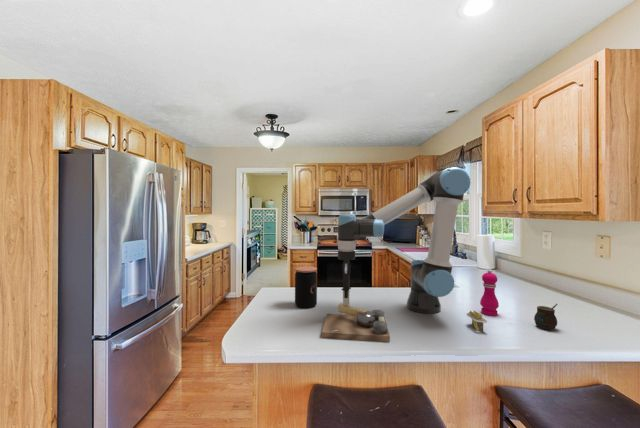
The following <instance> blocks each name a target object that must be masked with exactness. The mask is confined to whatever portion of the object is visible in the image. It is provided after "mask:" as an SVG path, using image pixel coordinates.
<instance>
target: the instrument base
mask: <svg viewBox="0 0 640 428" xmlns="http://www.w3.org/2000/svg"><path fill="white" fill-rule="evenodd" d="M371 312H373V313H375V322H374V323H373V327H361V326H359V325H357V317H353V316H350V315H347V314H344V313H342V314H339V313H338V314H337V313H327V314H326V318H325V320H324V323H323V327H322V331H321V339H322V338H323V339H334V340H335V339H338V340H350V341H352V340H353V341H369V342H384V343H385V342H386V343H390V342H391V336H390V332H389V328H388V322H386V318H385V311H383V310H381V309H380V310H379V309H374V310H371Z"/></svg>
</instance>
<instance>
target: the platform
mask: <svg viewBox="0 0 640 428" xmlns="http://www.w3.org/2000/svg"><path fill="white" fill-rule="evenodd" d="M466 316H467V317H469V318H470V319H471V325H472V326H473V327H474V329H475V331H481V332H482V333H484V323H488V320H486V319H485V318H483V315H482V314H481V313H479V312H478V311H476V310H473V311H472V310H469V312H467V313H466Z"/></svg>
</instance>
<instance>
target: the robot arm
mask: <svg viewBox="0 0 640 428" xmlns="http://www.w3.org/2000/svg"><path fill="white" fill-rule="evenodd" d="M470 186H471V178H470V175H469V173H468V172H467V171H465V169H462V168H460V167H447V168H445V169H443V170H441V171H437V172H435V173H434V174H432V175H430V176H429V177H428V178H427V179H424V181H422V182H420V183H419V184H418V185H417V187H416V188H414V189H413V190H411V191H408V193H406V194H404V195H402V196H400V197H399V198H397V199H396V200H393V201H392V202H390V203H388V204H386V205H385V206H383V207H382V208H380V209H378V210H376V211H374V212H373V213H371V214H369V215H368V216H365V217H364V218H363V217H362V218H357V217H356V215H355V214H340V215H339V216H338V219H337V220H338V221H337V242H336V245H337V248H338V249H337V250H338V251H337V259H338V260H339V261H343V262H342V263H341V270H342V272H341V273H342V274H341V275H342V288H341V291H342V304H344V305H348V306H350V290H351V289H352V287H350V275H351V268H352V262H350V261H355V260H356V251H355V250H356V248H357V247H356V237H366V238H369V237H374V238H377V237H383V236H384V234H385V225H387V224H389V223H390V222H392V221H394V220H396V219H398V218H400V216H403V215H404V214H406V213H408V212H410V211H412V210H413V209H416V208H417V207H419V206H420V205H422V204H424V203H430V202H432V201H435V210H434V214H433V215H434V216H433V221H432V222H433V223H432V228H431V234H430V239H429V245H428V253H427V257H425V259H412V260H411V263H410V292H409V295H408V298H407V300H406V308H407V309H409V310H410V311H413V312H416V313H421V314H437V313H440V312H441V311H442V310H441V309H442V307H441V305H442V304H441V302H440V298H443V297H446V296H447V295H449V294H451V292H452V291H453V289H454V287H455V279H454V277H453V275H452V271H453V264H452V263H451V262H450V257H451V252H452V245H453V244H452V243H453V240H454V239H453V238H454V233H455V226H456V220H457V213H458V208H459V207H458V206H459V205H461V204H462V203H463V201H464V196H465V193H467V191H469V189H470Z"/></svg>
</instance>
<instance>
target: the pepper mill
mask: <svg viewBox="0 0 640 428" xmlns="http://www.w3.org/2000/svg"><path fill="white" fill-rule="evenodd" d="M486 271H487V272H485V273H483V274H482V275H481V280H482V281H483V283H482V286H483V287H484V288H483V289H484V290H483V291H484V292H483V295H482V297H481V298H480V306H481V308H480V309H481V313H482V314H484V315H485V316H490V317H495V316H498V310H497V309H498V308H499V300H498V298H497V296H496V293H495V292H496V291H495V289H496V288H497V284H496V283H497V282H498V276H497V275H496V273H493V270H492V269H491V268H490V269H487V270H486Z"/></svg>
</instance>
